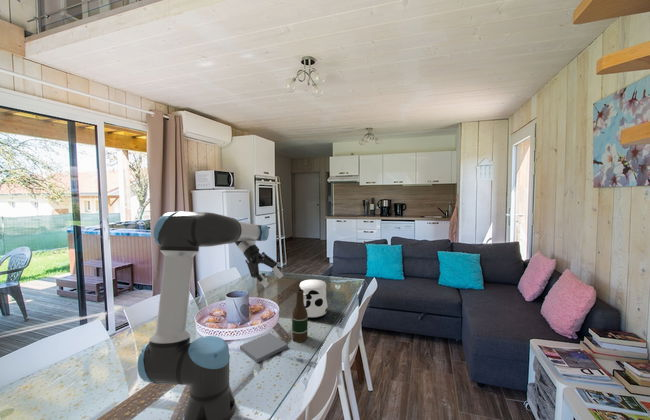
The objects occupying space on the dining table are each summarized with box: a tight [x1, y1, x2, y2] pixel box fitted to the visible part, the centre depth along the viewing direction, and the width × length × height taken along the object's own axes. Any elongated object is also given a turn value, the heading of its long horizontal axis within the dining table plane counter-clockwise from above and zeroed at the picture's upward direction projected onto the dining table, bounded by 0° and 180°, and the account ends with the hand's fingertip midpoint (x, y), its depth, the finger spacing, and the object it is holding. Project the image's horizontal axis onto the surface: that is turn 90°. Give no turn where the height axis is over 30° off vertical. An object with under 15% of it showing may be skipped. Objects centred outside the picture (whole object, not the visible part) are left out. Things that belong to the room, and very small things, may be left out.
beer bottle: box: [291, 288, 309, 343], centre depth 134 cm, size 8×8×24 cm
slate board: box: [239, 332, 289, 363], centre depth 126 cm, size 16×14×2 cm
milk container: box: [298, 279, 328, 319], centre depth 161 cm, size 17×17×18 cm
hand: (274, 281), depth 138 cm, fingers open, 13 cm apart
